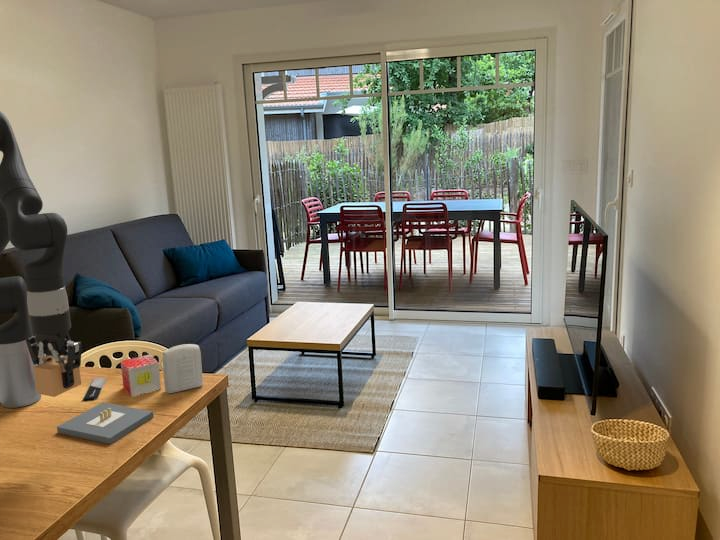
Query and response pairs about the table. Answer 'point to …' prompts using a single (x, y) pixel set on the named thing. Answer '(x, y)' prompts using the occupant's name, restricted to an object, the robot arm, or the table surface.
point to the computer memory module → (94, 389)
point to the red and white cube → (140, 375)
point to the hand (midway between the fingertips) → (59, 384)
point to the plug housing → (53, 378)
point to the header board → (105, 422)
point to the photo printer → (182, 368)
